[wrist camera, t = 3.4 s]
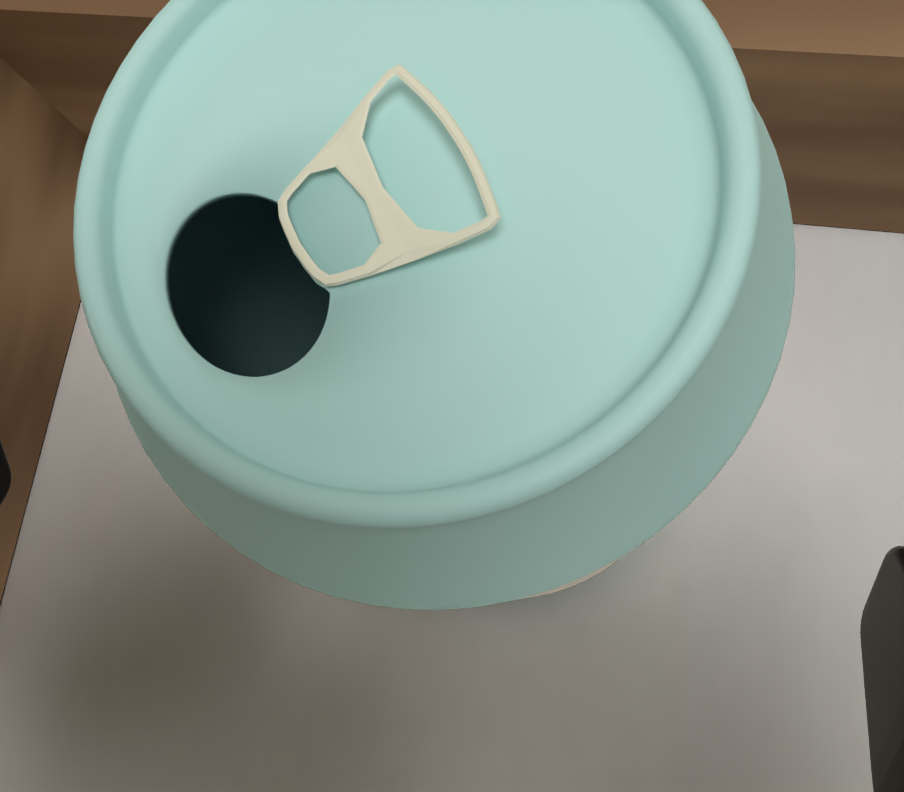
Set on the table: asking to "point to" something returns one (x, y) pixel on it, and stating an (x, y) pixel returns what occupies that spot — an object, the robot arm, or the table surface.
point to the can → (435, 280)
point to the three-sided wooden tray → (137, 3)
